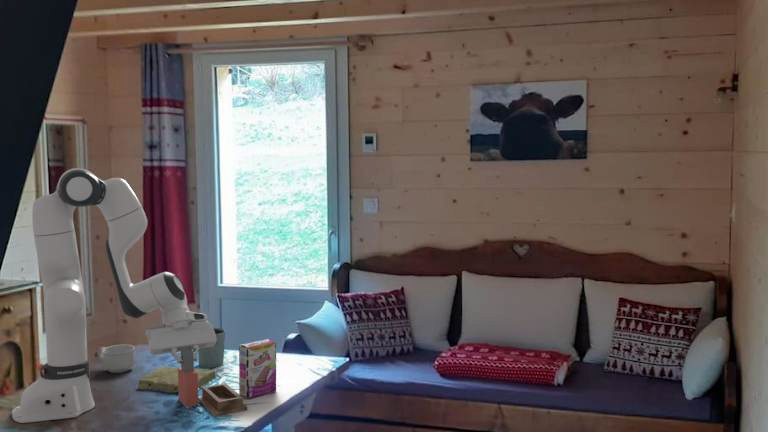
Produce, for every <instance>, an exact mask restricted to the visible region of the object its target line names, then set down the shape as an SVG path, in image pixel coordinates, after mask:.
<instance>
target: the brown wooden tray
mask: <svg viewBox="0 0 768 432" xmlns="http://www.w3.org/2000/svg"><path fill="white" fill-rule="evenodd" d="M198 400H199V401H200V402H201V403H202V404H203V405H204V406H205V407H206V408H205V407H204V406H203V405H202V404H201V403H200V402H199V401H198V402H199V403H200V404H201V405H202V406H203V407H204V408H205V409H206V410H207V411H208V412H210V414H211V415H212V416H213V417H218V416H224V415H229V414H235V413H239V412H245V411H248V406H247V405H246V404H245V403H244V397H242V396H240V395H239V393H238V392H237V391H235V390H234V389H233V388H232V387H230V386H229V385H228V384H226V383H219V384H214V385H209V386H203V387H201V396H200V397H199V396H198Z"/></svg>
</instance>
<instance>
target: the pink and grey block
mask: <svg viewBox="0 0 768 432" xmlns="http://www.w3.org/2000/svg"><path fill="white" fill-rule="evenodd" d="M193 354H194V352H193V350H191V349H188V350H181V351H180V356H182V357H183V363H180V366H179V367H177V368H178V401H180V402H181V403H182V404H183V405H184V406H185V407H186V408H187V407H189V408H193V407H192V406H194V407H197V406H196V405H198V406H199V401H198V398H199V389H198V373H197V372H196V371H194V369H195V365H194V362H195V361H194V356H193Z"/></svg>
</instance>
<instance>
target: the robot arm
mask: <svg viewBox="0 0 768 432" xmlns="http://www.w3.org/2000/svg"><path fill="white" fill-rule="evenodd" d="M90 206H91V207H92V206H97V208H98V209H99V210H100V211H101V214H102V216H103V217H104V219H105V221H106V223H107V226H108V230H109V231H108V232H109V234H108V238H107V239H106V240H105V250H106V255H107V258H108V262H109V266H110V269H111V273H112V276H113V280H114V283H115V287H116V289H117V293H118V299H119V300H118V301H119V305H120V308H121V310H122V311H123V314H124V315H126V316H128V317H130V318H133V319H134V318H135V319H139V318H141V317H143V316H145V315H147V314H148V313H150V312H152V311H155V310H158V309H159V310H160V312H161V321H162V324H160V325H158V324H157V325H150V326H149V327H147V328H146V329H145V332H144V333H145V337H146V339H148V351H149V353H150V354H151V355H153V356H155V355H163V354H169V353H170V355H171V356H172V357H173V358H174V359H175V361H176V363H177V364H179V365H180V364H181V363H183V357H182V356H181V355H180V354H179V353H177V352H181V350H188V349H191V350H192V351H193V356H194V362H197V361H199V360H198V349H201V348H208V347H213V346H214V345H215V343H216V340H217V338H216V334H215V332H214V329H213V328H214V326H213V325H212V323H210V321H208V314H205V313H200V312H195V311H191V310H190V308H189V306H188V299H187V295H186V291H185V288H184V284H183V282H182V280H181V279H180V277H179V276H177V275H176V274H174V273H172V272H169V271H163V272H160V273H157V274H155V275H153V276H151V277H149V278H147V279H144V280H141V281H140V282H137V283H133V282H132V281H131V277H130V274H129V270H128V268H127V264H126V259H125V257H126V254H127V252H128V251H129V250H130V248H132V247H133V246H134V245H135V244H136V243H137V242H138V241H139V240H140V239H141V238H142V237H143V235H144V234H145V232H146V230H147V228H148V218H147V216H146V215H147V214H146V212H145V210H144V208H143V206H142V204H141V202H140V200H139V198H138V196H137V195H136V193H135V192H134V190H133V189H132V187H131V186H130V184H129V183H128V182H127V181H126V180H125V179H123V178H122V177H111V178H108V179H105V180H102V179H100V178H99V177H97V176H96V175H95V174H94V173H93V172H91V171H90V170H88V169H86V168H83V167H73V168H70V169H67V170H66V171H64V172H63V173H62V174H61V176H60V177H59V179H58V181H57V184H56V187H55V189H54V191H53V193H50V194H45V195H42V196H40V197H38V198H36V199H35V201H33V204H32V213H31V217H32V219H31V221H32V232H33V237H34V239H33V240H34V243H35V245H34V246H35V250H36V256H37V262H38V267H39V274H40V278H41V283H42V290H43V299H44V300H43V308H44V309H43V310H44V323H45V324H44V325H45V343H46V362H45V363H42V362H39V363H38V364H37V365H36V368H37V370H38V372H39V376H40V377H38V378H37V379H36V380H35V381H34V382H33V383H31V384H30V385H28V386H27V388H25V389H24V390H23V392H22V393H21V397H20V400H19V401H20V402H19V405H18V406H16V407H14V408H13V409H12V411H11V418H12V419H13V421H15V422H17V423H20V424H25V423H34V422H35V423H36V422H43V421H52V420H63V419H70V418H71V419H72V418H77V417H79V416H81V415H82V414H83V413H86V412H88V411H90V410H92V409H93V408H95V405H96V403H95V400H94V397H93V393H92V390H91V385H90V384H91V383H90V376H91V369H90V368H91V367H90V366H91V365H90V360H89V358H88V342H87V304H86V303H87V300H86V299H87V298H86V295H85V290H84V284H83V283H84V282H83V275H82V270H81V269H82V268H81V263H80V262H81V261H80V255H79V250H78V243H77V235H76V230H75V223H74V212H75V209H76V208H77V207H78V208H81V207H82V208H84V207H90Z"/></svg>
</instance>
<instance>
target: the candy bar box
mask: <svg viewBox="0 0 768 432" xmlns="http://www.w3.org/2000/svg"><path fill="white" fill-rule="evenodd" d="M238 368H239V369H238V371H239V372H238V377H239V378H238V380H239V382H238V383H239V386H238V387H239V389H238V390H239V393H238V394H239V395H240V396H242V397H243V399H246V400H249V399H253V398H256V397H261V396H264V395H268V394H272V393H275V392H276V391H277V341H275V340H272V339H268V338H267V339H263V340H262V339H261V340H256V341H252V342H247V343H241V344H239V345H238Z"/></svg>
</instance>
